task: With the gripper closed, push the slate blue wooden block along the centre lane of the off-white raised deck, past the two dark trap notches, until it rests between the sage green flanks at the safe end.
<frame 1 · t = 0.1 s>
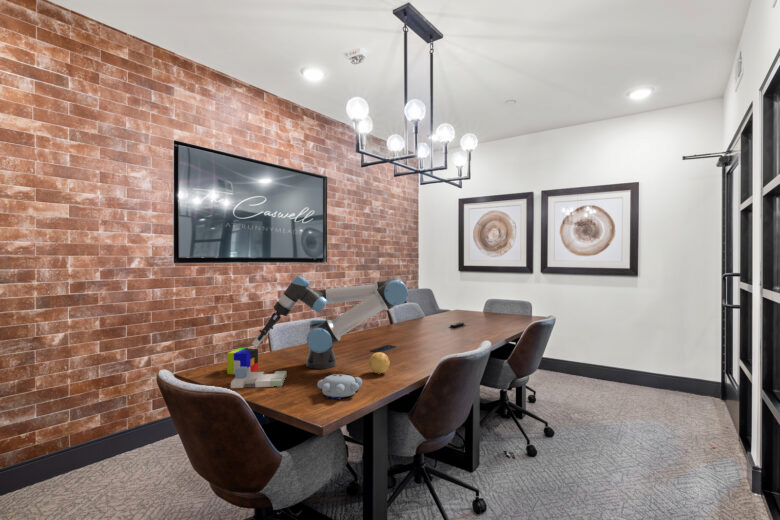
hand: (257, 342, 182), 15 cm above the table, tool tilted 35°, fingers open, 13 cm apart
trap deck: (260, 381, 172), on the table
stress ball: (378, 373, 185), on the table
block: (241, 376, 171), point 2 cm above the table, touching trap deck
puzzle toy: (243, 371, 188), on the table
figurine: (340, 393, 159), on the table
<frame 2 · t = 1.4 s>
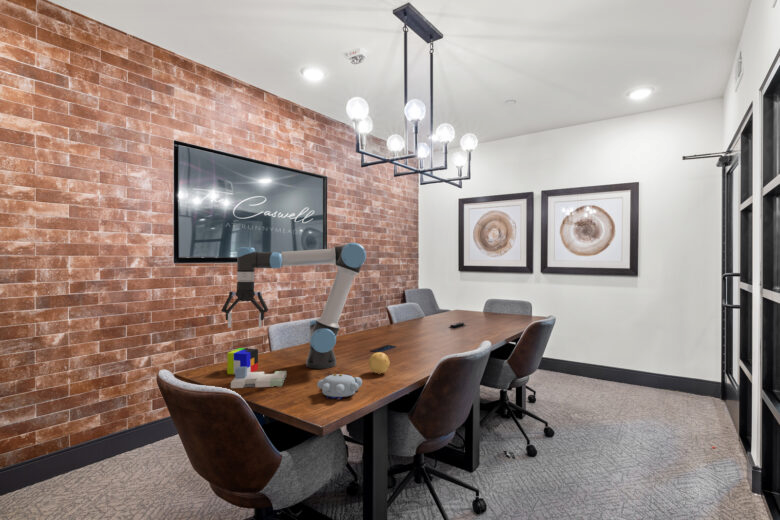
hand: (244, 327, 178), 23 cm above the table, tool pointing down, fingers open, 13 cm apart
nothing on the table moved.
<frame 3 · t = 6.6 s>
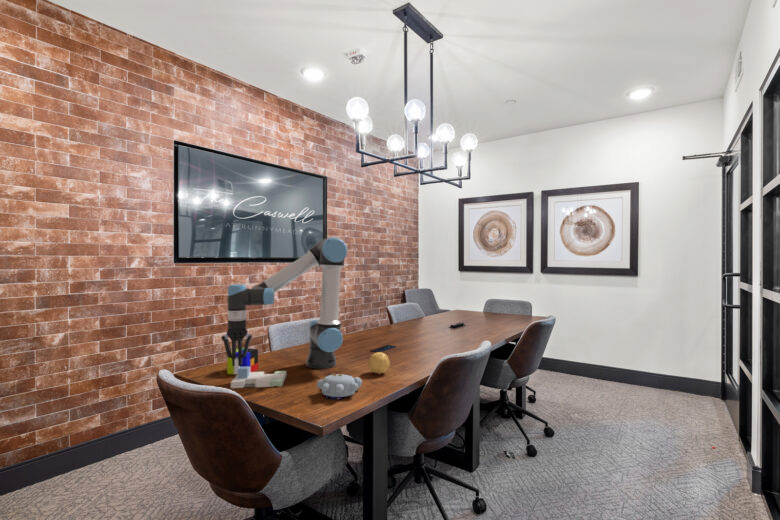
hand: (237, 373, 171), 4 cm above the table, tool pointing down, fingers closed
block: (243, 376, 171), point 3 cm above the table, touching gripper
everything else where it was.
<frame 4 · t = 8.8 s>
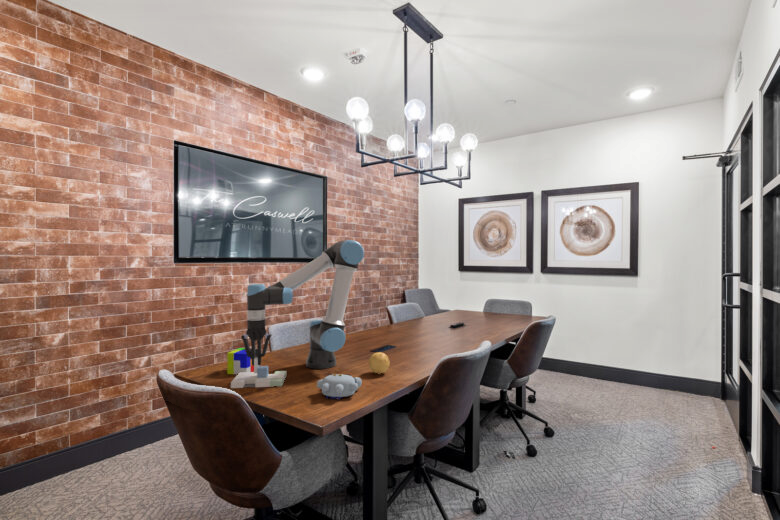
hand: (256, 372, 172), 4 cm above the table, tool pointing down, fingers closed
block: (262, 376, 172), point 3 cm above the table, touching gripper, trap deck
everything else where it was.
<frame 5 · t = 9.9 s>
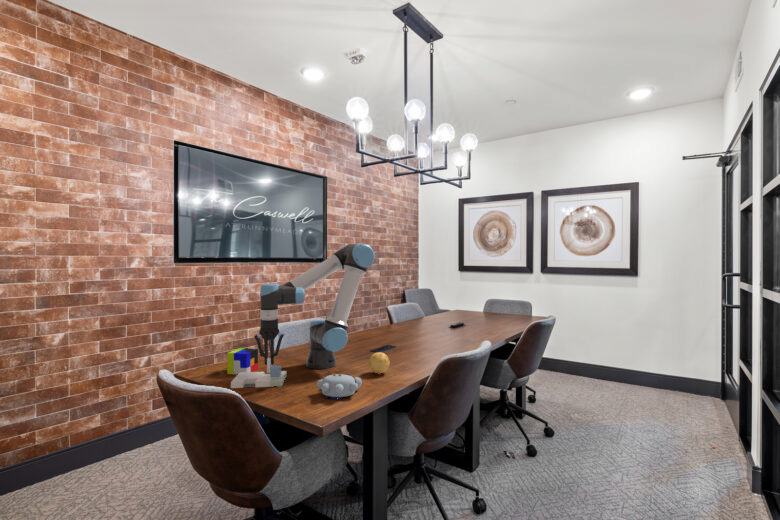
hand: (269, 371, 172), 4 cm above the table, tool pointing down, fingers closed
block: (275, 375, 173), point 3 cm above the table, touching gripper
everything else where it was.
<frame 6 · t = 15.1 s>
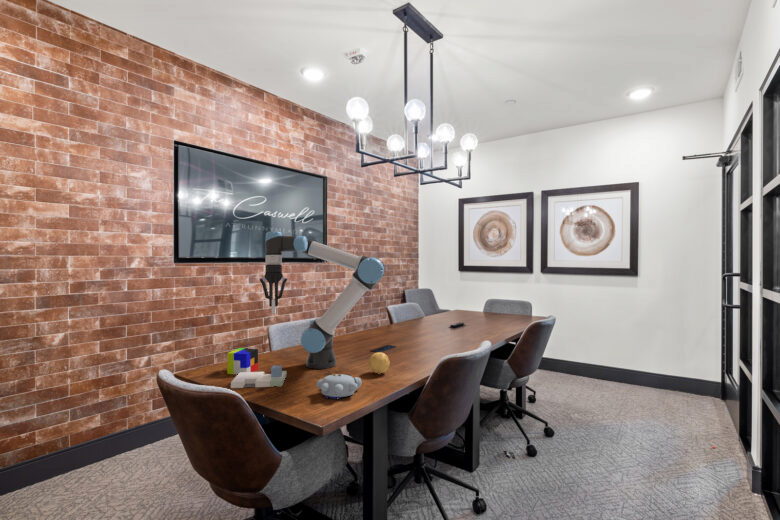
hand: (273, 313, 186), 28 cm above the table, tool pointing down, fingers closed
block: (276, 375, 173), point 2 cm above the table, touching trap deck
everything else where it was.
at the end: block 0.7 cm from the target spot on the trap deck, point 2.5 cm above the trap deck's base; block tilted 0° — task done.
